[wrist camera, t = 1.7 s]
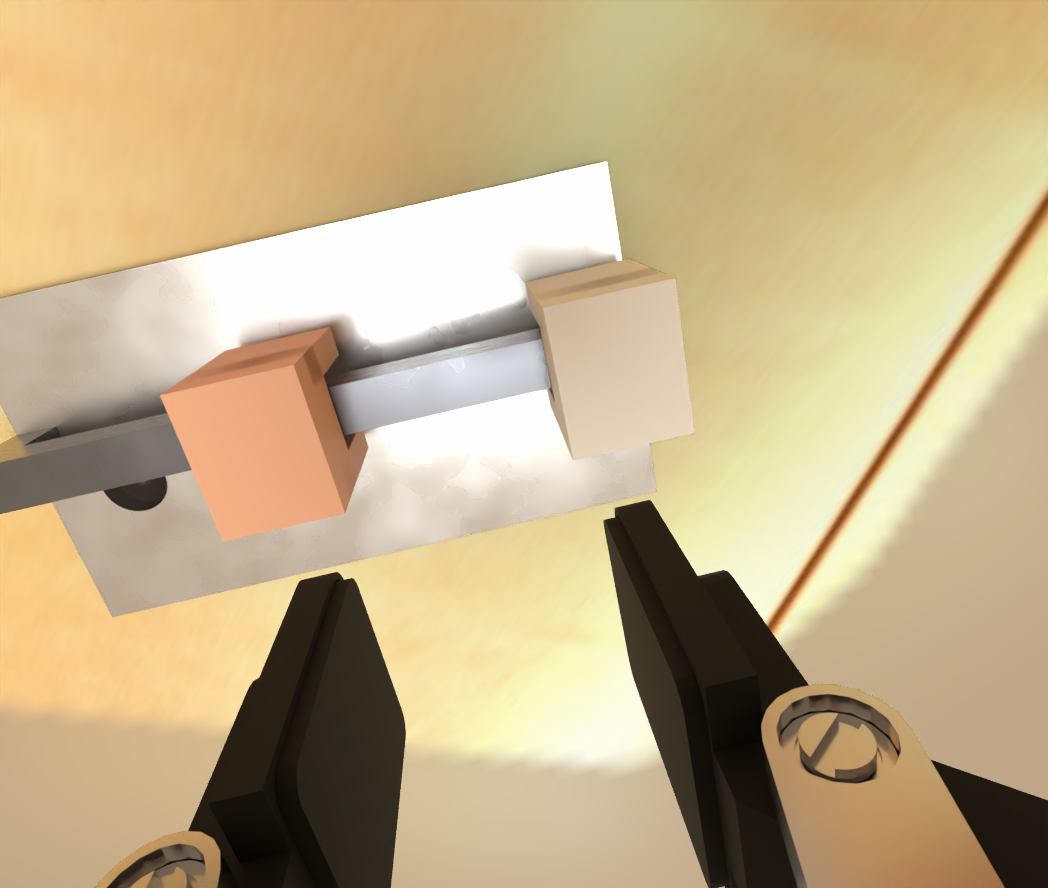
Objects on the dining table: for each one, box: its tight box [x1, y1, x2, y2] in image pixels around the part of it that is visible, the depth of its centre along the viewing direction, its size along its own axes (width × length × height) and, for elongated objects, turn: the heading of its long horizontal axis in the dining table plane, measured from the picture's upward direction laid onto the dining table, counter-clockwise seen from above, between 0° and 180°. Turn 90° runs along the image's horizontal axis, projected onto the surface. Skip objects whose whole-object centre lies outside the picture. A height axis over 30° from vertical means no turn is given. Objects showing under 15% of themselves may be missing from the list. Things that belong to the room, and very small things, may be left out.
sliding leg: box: [160, 327, 369, 542], centre depth 24 cm, size 4×5×7 cm
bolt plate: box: [0, 161, 657, 617], centre depth 28 cm, size 25×14×1 cm, turn 102°
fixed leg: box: [525, 259, 695, 461], centre depth 24 cm, size 4×5×7 cm
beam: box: [0, 328, 552, 514], centre depth 25 cm, size 25×2×4 cm, turn 102°
